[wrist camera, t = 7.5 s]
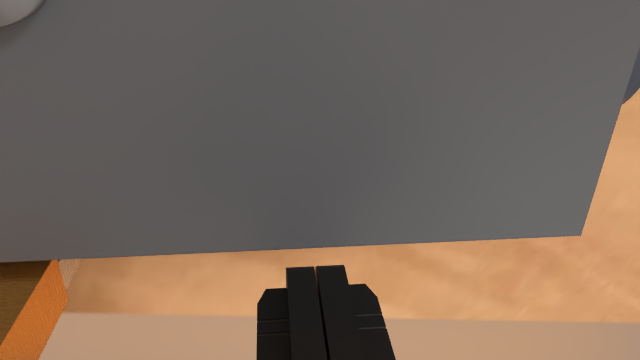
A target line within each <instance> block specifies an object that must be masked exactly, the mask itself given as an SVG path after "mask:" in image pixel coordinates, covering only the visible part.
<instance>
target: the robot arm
mask: <svg viewBox="0 0 640 360" xmlns="http://www.w3.org/2000/svg"><path fill="white" fill-rule="evenodd" d="M257 360H396V359H395V356H394V353H393V349H392V346H391V342H390V339H389V335H388V332H387V329H386V325H385V322H384V318H383V316H382V312H381V308H380V305H379V302H378V298H377V296H376V295H375V294H374V293H373V292H372V291H371V290H370V289H369V288H368V286H367V285H366V284H353V285H349V284H348V280H347V275H346V271H345V267H344V265H333V266H316V268H315V270H314V267H292V268H286V288H276V289H266V290H265V292H264V293H263V295H262V297H261V299H260V300H259V302H258V306H257Z"/></svg>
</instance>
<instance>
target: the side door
mask: <svg viewBox="0 0 640 360" xmlns="http://www.w3.org/2000/svg"><path fill="white" fill-rule="evenodd" d="M81 261H82V259H63V260H42V261H20V262H0V360H38V359H39V357H40V355H41V353H42V351H43V349H44V347H45V345H46V343H47V341H48V339H49V337H50V335H51V333H52V331H53V329H54V327H55V325H56V323H57V321H58V319H59V317H60V315H61V313H62V311H63V309H64V307H65V305H66V303H67V301H68V296H67V293H66V290H67V288H68V287H69V285H70V283H71V281H72V279H73V277H74V275H75V273H76V271H77V269H78V267H79V265H80V263H81Z"/></svg>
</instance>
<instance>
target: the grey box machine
mask: <svg viewBox="0 0 640 360" xmlns="http://www.w3.org/2000/svg"><path fill="white" fill-rule="evenodd" d="M639 88H640V0H0V262H20V261H42V260H63V259H85V258H107V257H128V256H150V255H172V254H193V253H215V252H237V251H258V250H280V249H301V248H323V247H345V246H366V245H388V244H410V243H431V242H453V241H475V240H496V239H518V238H540V237H561V236H581V233H582V230H583V227H584V224H585V221H586V217H587V214H588V211H589V208H590V204H591V201H592V198H593V195H594V192H595V188H596V185H597V182H598V179H599V176H600V172H601V169H602V166H603V163H604V159H605V156H606V153H607V150H608V147H609V143H610V140H611V137H612V134H613V130H614V127H615V124H616V121H617V118H618V114H619V111H620V108H621V105H622V104H623V103H625V102H626V101H627V100H629V99H630V98H631V97H632V96H633V95H634V94H635V93H636V92H637V90H638V89H639Z"/></svg>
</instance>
